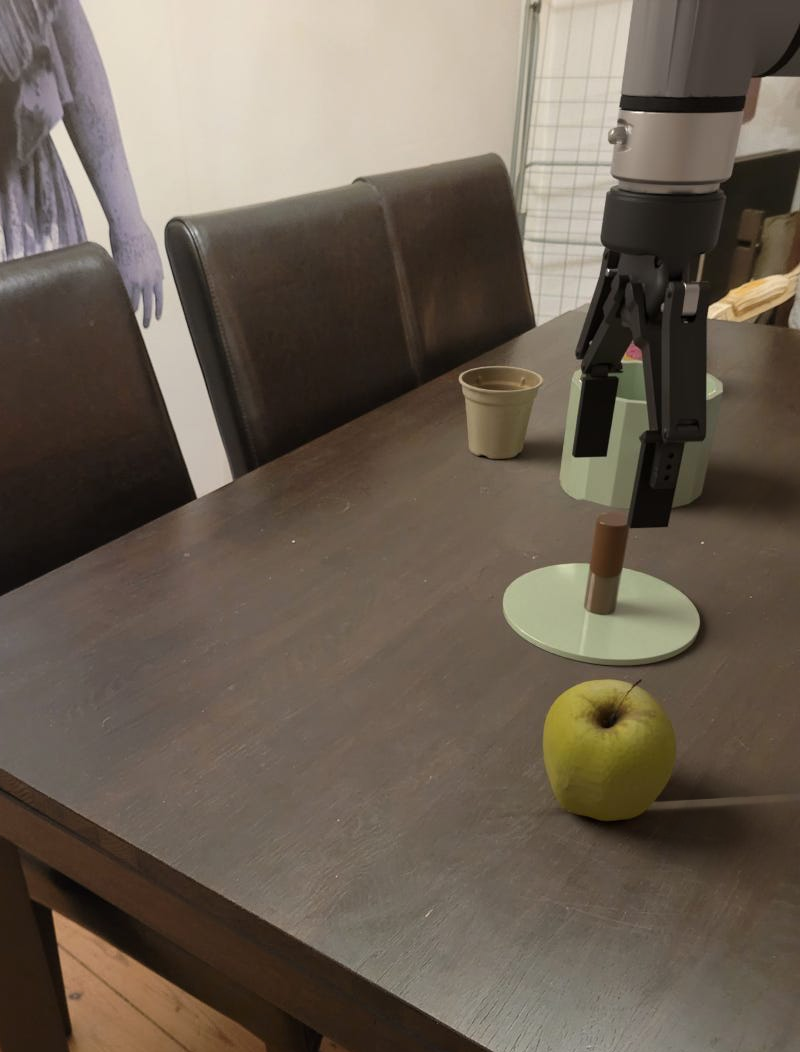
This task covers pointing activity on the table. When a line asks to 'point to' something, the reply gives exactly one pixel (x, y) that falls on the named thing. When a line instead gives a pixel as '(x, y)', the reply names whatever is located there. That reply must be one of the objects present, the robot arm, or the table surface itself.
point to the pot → (631, 445)
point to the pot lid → (602, 607)
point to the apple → (608, 749)
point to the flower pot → (498, 408)
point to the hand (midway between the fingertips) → (615, 488)
